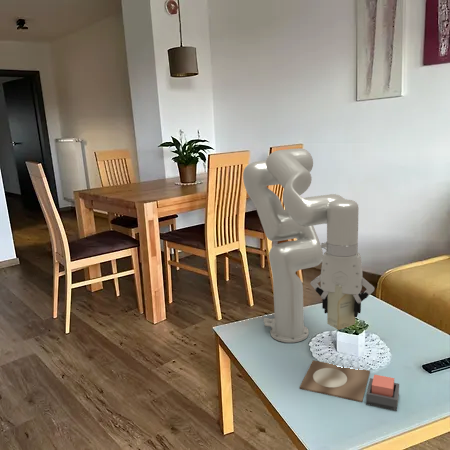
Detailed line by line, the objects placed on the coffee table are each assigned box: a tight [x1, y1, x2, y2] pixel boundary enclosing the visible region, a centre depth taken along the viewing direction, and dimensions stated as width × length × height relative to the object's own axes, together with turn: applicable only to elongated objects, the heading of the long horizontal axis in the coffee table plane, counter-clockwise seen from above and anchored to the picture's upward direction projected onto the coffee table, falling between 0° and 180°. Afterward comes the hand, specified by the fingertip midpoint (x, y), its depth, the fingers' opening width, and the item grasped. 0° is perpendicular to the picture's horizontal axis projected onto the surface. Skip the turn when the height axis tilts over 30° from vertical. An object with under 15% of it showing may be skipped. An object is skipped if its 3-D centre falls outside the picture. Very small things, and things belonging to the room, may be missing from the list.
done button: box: [372, 374, 395, 397], centre depth 106 cm, size 5×5×2 cm
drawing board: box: [299, 360, 371, 403], centre depth 116 cm, size 16×14×1 cm
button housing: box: [365, 377, 400, 412], centre depth 106 cm, size 7×7×3 cm
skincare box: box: [326, 285, 356, 331], centre depth 112 cm, size 6×4×12 cm
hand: (341, 312), depth 112 cm, fingers closed on skincare box, 7 cm apart
